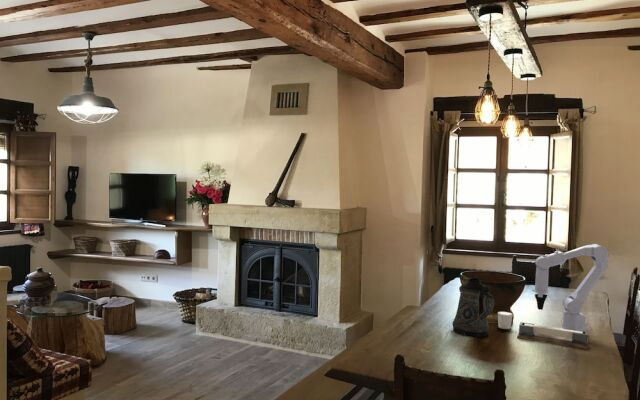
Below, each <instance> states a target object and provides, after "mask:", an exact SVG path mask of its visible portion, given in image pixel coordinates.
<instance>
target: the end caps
mask: <svg viewBox="0 0 640 400" xmlns="http://www.w3.org/2000/svg"><path fill="white" fill-rule="evenodd" d="M524 324H532V325H535V323H528V322H522V321H520V323H519V326H518V333H519V335H523V336H530V337H533V335H534V333H533V328H534V327H533V326H526V325H524ZM574 331H580V330H574ZM581 332H583V334H581V333H574V332H573V333H572V343H576V344H582V345H587V341H589V339H588V338H589V337H588V331H586V330H585V331H581Z"/></svg>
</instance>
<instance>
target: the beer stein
mask: <svg viewBox="0 0 640 400" xmlns="http://www.w3.org/2000/svg"><path fill="white" fill-rule="evenodd" d="M458 289H459V291H458V292H459V293H460V295H459V298H458V299H459V300H458V305H457V310H456V313H455V317H454V319H453V320H452V324H451V325H452V330H453V332H454V333H455V334H457V335H460V336H465V337H471V338H482V337H483V338H484V337H486V336H487V335H489V330H490V326H489V323H488V317H489V316H490V314H491V313H492V312H493V310H494V306H495V299H494V296H493V294H492V292H489V290H490V289H489V286H487V285H486V284H483V283H482V282H481V280H480V279H479V278H474V277H473V278H472V277H471V278H468V280H467V281H466V282H465V283H462V284H461V285H460V286H459V288H458ZM486 302H487V303H486ZM486 304H487V306H486Z"/></svg>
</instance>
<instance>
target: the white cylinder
mask: <svg viewBox="0 0 640 400" xmlns="http://www.w3.org/2000/svg"><path fill="white" fill-rule="evenodd" d="M512 319H513V313H511V312H508V311H498V312H497V322H498V323H497V325H498V328H499V329H503V330H510V329H511V327H512Z"/></svg>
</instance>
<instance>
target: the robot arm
mask: <svg viewBox="0 0 640 400" xmlns="http://www.w3.org/2000/svg"><path fill="white" fill-rule="evenodd" d="M609 254H610V253H609V252H608V249H607V248H606V246H603V245H599V244H598V243H591V244H588V245H587V244H586V245H583V246H580V247H576V248H575V249H572V250H569V251H565V252H562V251H558V250H556V251H554V253H550V254H545V255H544V256H541V255H540V256H538V257H537V258H536V259H535V262H534V263H535V266H536V269H535V280H534V281H535V284H534V285H535V286H534V289H532V290H531V291H532V292H534V298H535V300H536V301H535V302H536V307H537V310H538V311H539V310H540V311H543V309H544V306H545V302H546V300H547V298H548V293H549V276H550V275H549V269H550V267H555V266H558V265H561V264H562V265H563V264H565V263H566V261H567V260H570V259H574V258H578V257H582V256H587V257H590V258H591V259H592V262H593V266H592V267H591V269H590V270H589V271H588V273H587V274H586V275H585V277H584V279H583V280H582V281H581V282H580V284H579V285H578V286H577V288H576V289H575V291H574V292H572V293H570V294H569V296H568V297H565V298H564V299H563V301H562V306H563V308H564V309H563V312H562V327H559V328H560V329H567V330H580V331H586V316H585V314H583V313H582V312H581V311H582V307H583V305H584V303H585V299H586V297H587V296H588V294H589V293H590V292H591V291H592V289H593V288H594V287H595V285H596V284H597V283H598V282H599V280H600V279H601V277H602V276H603V274H605V272H606V271H607V269H608V266H609V265H608V263H609V257H610V255H609Z"/></svg>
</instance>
